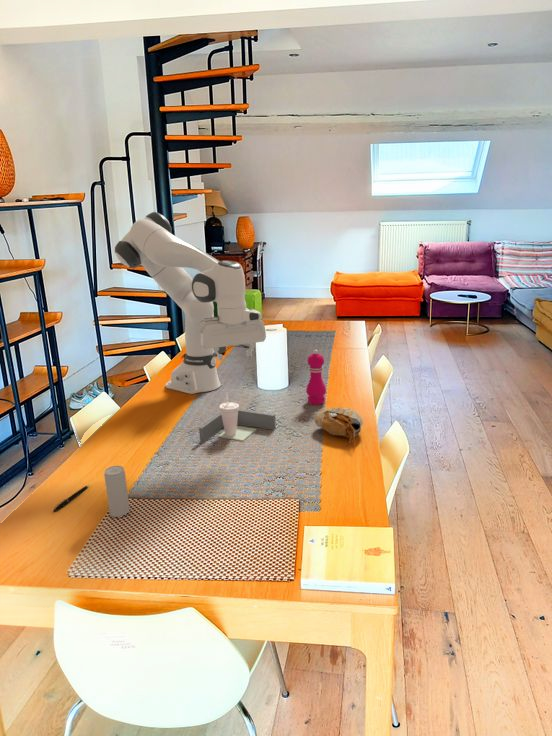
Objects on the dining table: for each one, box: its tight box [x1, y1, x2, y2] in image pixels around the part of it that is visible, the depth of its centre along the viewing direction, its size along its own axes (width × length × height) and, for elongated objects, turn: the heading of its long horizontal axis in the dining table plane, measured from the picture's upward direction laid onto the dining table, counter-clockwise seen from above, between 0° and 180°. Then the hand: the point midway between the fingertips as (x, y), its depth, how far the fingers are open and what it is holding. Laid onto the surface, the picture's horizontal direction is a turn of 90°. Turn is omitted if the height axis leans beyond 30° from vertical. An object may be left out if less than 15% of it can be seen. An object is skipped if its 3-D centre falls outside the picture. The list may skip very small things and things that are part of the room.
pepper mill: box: [305, 349, 327, 406], centre depth 203 cm, size 7×7×20 cm
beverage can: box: [103, 465, 131, 518], centre depth 137 cm, size 5×5×12 cm
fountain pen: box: [52, 483, 91, 512], centre depth 146 cm, size 14×1×2 cm, turn 159°
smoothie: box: [218, 392, 240, 436], centre depth 179 cm, size 6×6×14 cm
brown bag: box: [314, 407, 364, 448], centre depth 176 cm, size 8×22×15 cm
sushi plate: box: [218, 344, 256, 355], centre depth 280 cm, size 29×30×4 cm
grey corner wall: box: [198, 408, 277, 444], centre depth 180 cm, size 18×18×5 cm
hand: (234, 358), depth 174 cm, fingers open, 8 cm apart
